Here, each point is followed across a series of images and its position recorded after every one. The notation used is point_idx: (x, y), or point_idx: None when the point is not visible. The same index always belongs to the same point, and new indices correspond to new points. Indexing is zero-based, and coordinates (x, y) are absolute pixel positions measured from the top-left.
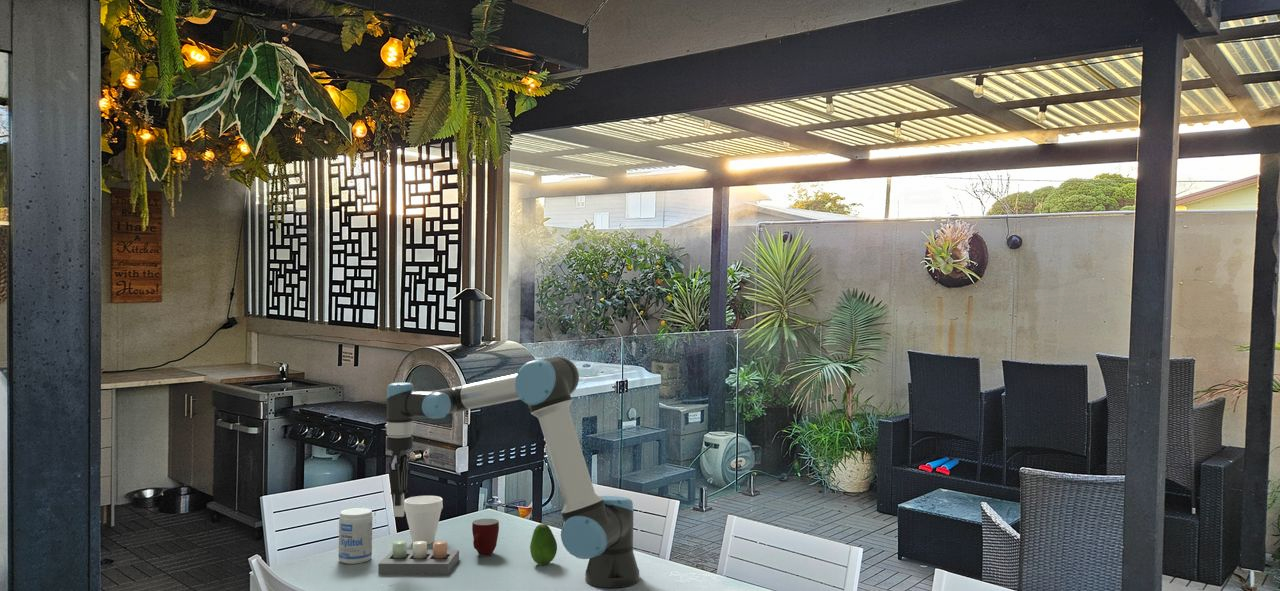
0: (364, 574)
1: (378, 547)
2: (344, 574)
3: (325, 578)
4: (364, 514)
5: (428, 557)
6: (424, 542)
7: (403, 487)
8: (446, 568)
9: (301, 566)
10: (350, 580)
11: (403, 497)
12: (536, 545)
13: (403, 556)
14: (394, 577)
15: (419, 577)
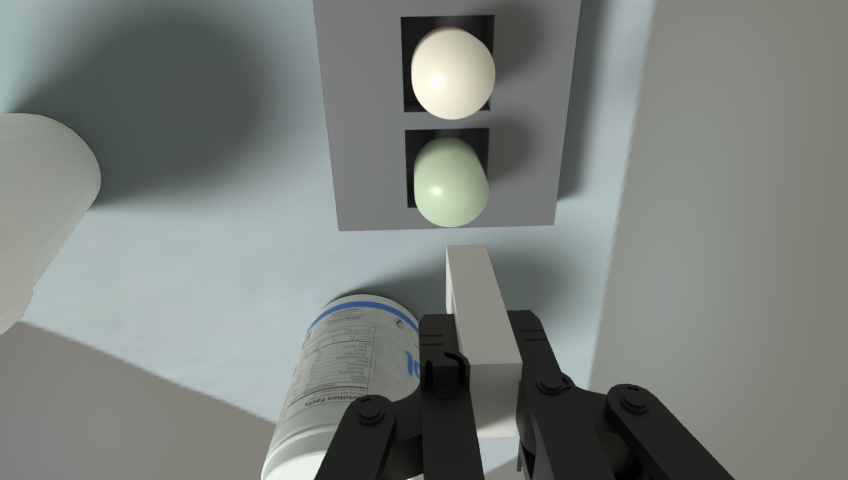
0: (540, 254)
1: (193, 316)
2: (535, 315)
3: (573, 353)
4: None
5: (466, 9)
6: (445, 49)
7: (475, 425)
8: None
9: None
10: (607, 275)
11: (491, 337)
12: None
13: (469, 145)
14: (592, 128)
15: (608, 8)
